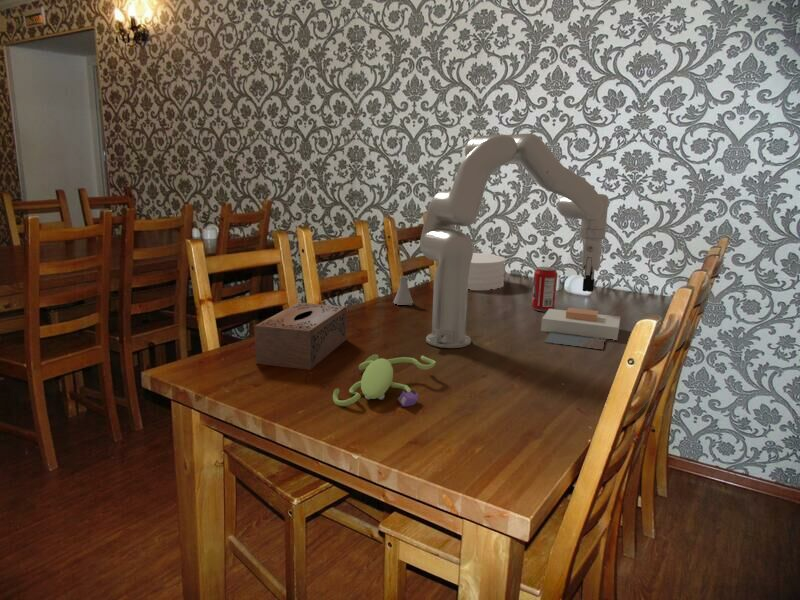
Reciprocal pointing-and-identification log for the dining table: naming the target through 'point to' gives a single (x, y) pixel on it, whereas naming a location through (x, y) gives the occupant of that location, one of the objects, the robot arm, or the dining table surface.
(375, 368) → the figurine
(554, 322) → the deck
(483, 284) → the plate stack
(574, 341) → the mat
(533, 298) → the soda can
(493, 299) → the dining table surface
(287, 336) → the tissue box cover
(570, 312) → the tile
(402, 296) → the flask
